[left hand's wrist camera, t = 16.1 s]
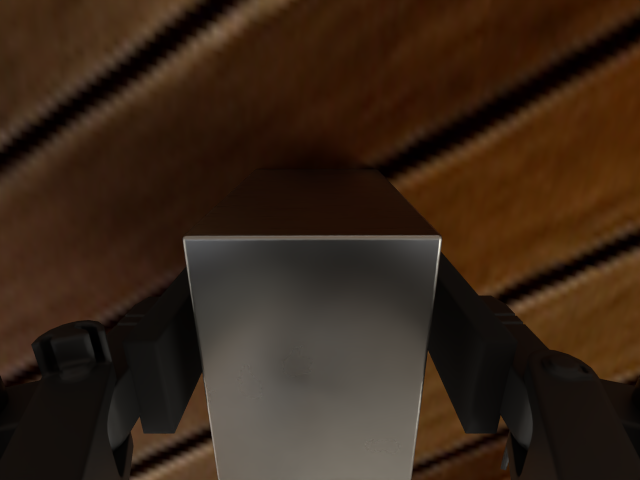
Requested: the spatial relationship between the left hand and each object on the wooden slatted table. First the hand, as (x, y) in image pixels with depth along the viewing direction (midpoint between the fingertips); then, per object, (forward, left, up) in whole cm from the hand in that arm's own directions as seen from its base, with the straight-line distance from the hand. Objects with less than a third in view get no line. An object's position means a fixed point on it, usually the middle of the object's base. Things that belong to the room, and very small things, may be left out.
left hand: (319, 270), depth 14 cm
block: (0, 0, -2) cm, 2 cm away
